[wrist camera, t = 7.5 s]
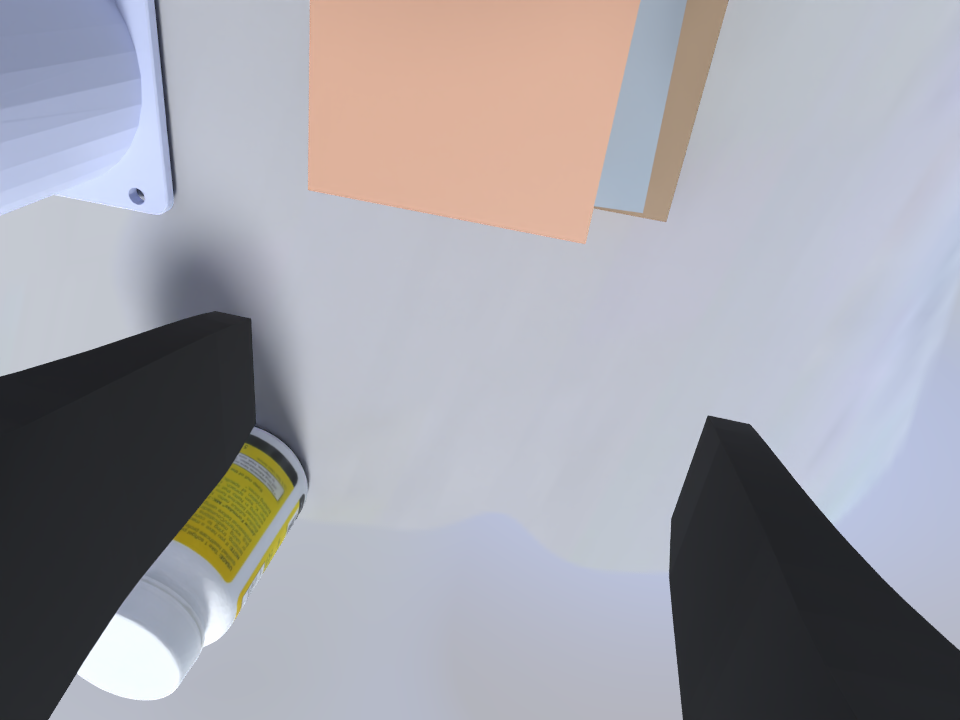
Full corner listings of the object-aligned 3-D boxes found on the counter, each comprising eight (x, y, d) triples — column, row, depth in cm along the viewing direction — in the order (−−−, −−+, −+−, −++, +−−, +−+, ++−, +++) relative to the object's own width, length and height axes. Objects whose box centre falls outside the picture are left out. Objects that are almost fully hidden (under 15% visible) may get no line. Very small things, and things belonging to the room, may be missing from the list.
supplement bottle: (181, 415, 26) (9, 585, 19) (298, 423, 25) (165, 604, 18) (211, 514, 29) (68, 699, 21) (320, 524, 28) (210, 721, 20)
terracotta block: (389, 131, 15) (308, 189, 11) (406, -119, 13) (311, -154, 9) (596, 169, 15) (585, 244, 11) (651, -82, 12) (662, -101, 9)
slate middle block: (386, 147, 18) (351, 172, 16) (390, -169, 15) (348, -192, 12) (642, 182, 17) (643, 213, 15) (708, -145, 14) (721, -165, 12)
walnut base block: (387, 142, 20) (358, 163, 18) (410, -204, 16) (376, -229, 14) (662, 194, 20) (666, 221, 17) (758, -157, 16) (778, -176, 13)
